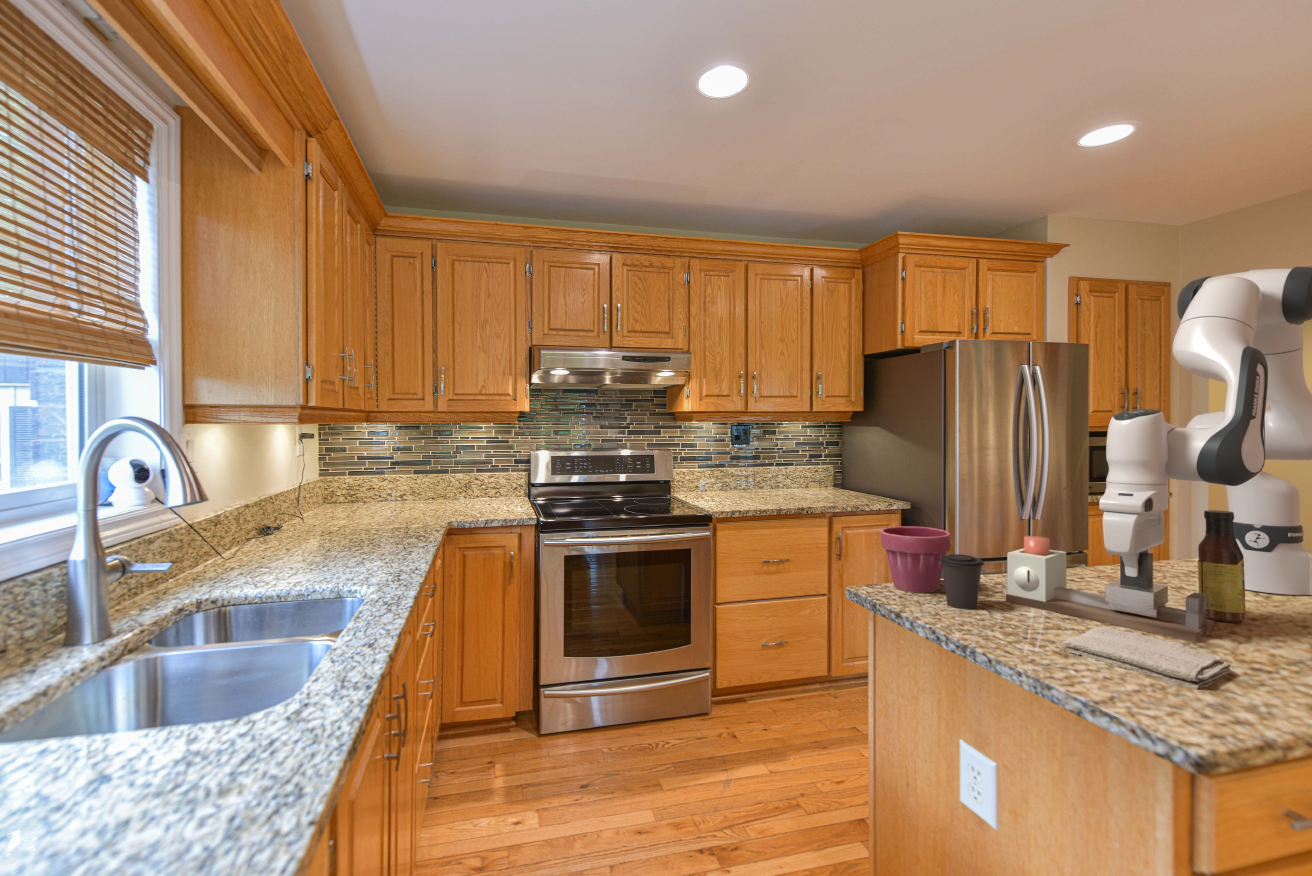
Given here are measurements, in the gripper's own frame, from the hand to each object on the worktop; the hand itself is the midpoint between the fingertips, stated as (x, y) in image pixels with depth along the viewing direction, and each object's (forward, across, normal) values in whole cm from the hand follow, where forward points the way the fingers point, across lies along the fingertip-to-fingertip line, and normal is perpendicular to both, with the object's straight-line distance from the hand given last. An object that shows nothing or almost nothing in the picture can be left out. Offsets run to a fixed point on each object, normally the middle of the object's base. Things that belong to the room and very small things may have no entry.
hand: (1136, 574), depth 109 cm
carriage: (+7, 0, 0) cm, 7 cm away
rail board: (+9, 0, -5) cm, 10 cm away
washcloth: (+9, +22, +7) cm, 25 cm away
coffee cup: (+9, +15, -24) cm, 30 cm away
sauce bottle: (+9, -14, +9) cm, 19 cm away
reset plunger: (+1, 0, -16) cm, 17 cm away
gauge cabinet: (+9, 0, -16) cm, 19 cm away
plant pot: (+9, +10, -37) cm, 40 cm away
